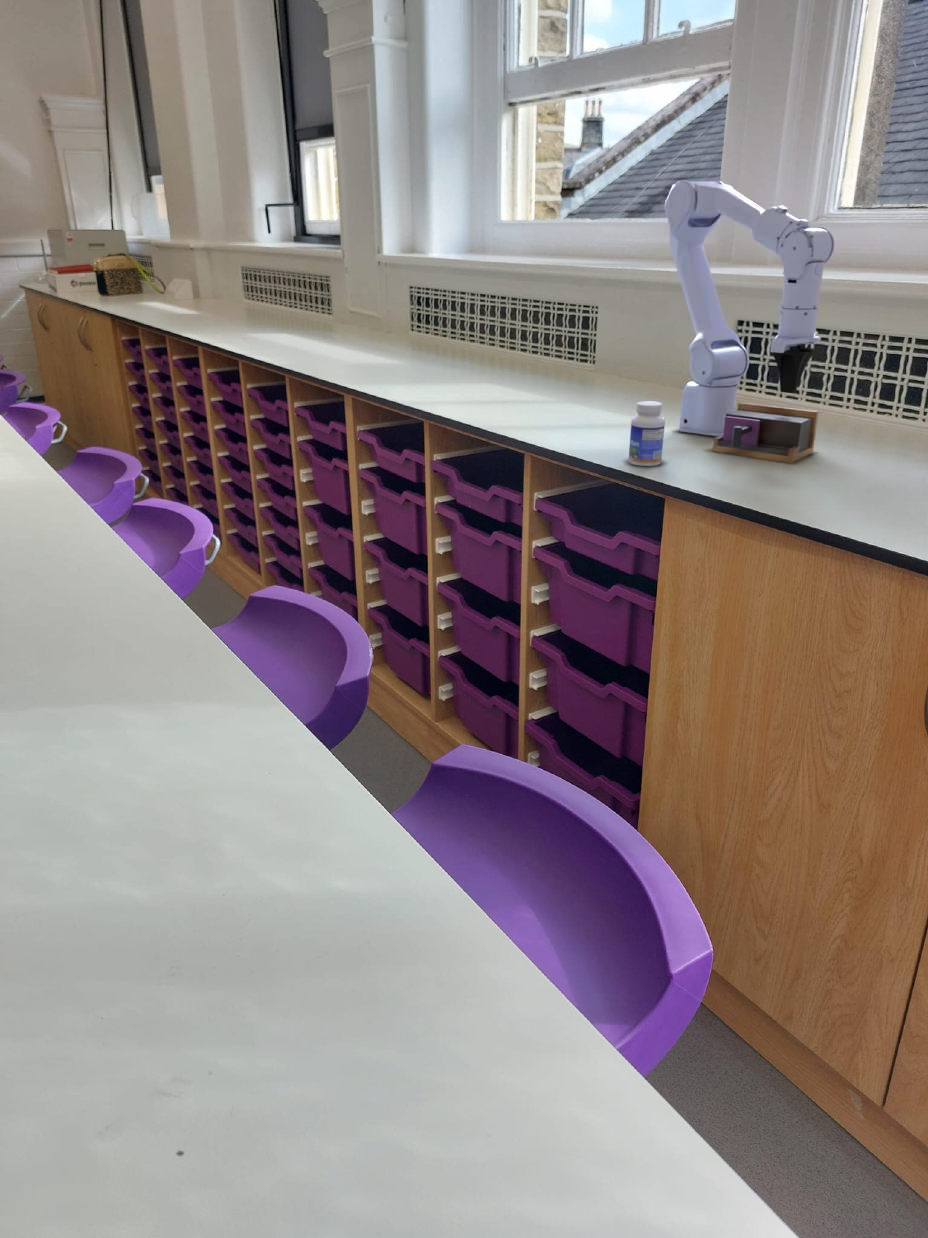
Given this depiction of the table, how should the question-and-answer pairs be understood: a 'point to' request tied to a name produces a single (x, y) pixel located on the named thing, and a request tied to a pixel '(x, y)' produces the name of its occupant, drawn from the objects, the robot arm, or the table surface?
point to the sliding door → (741, 431)
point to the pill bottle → (647, 434)
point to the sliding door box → (775, 433)
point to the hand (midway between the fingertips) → (788, 391)
